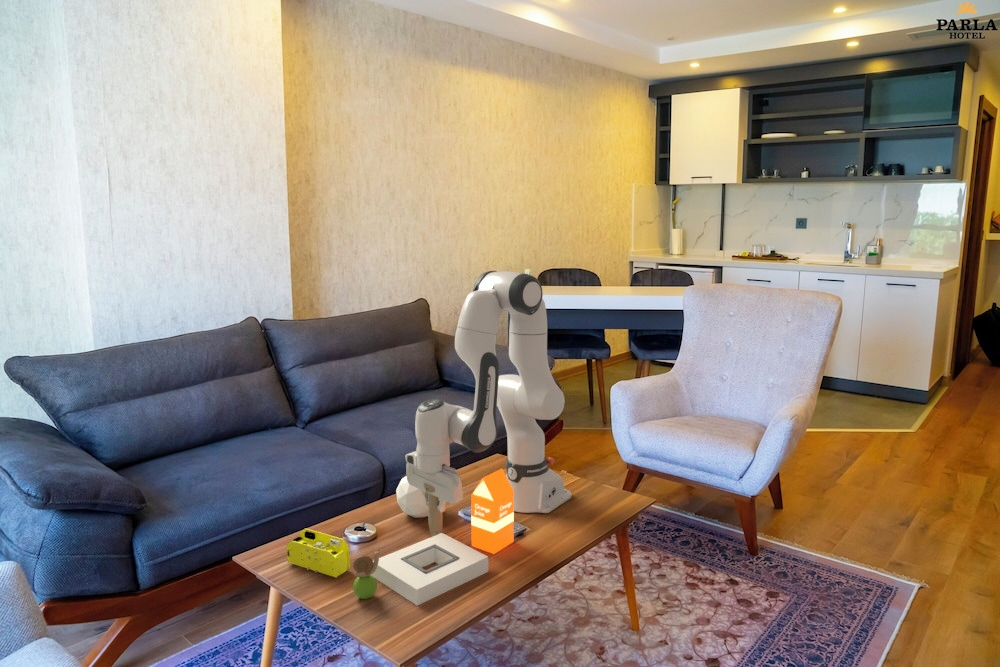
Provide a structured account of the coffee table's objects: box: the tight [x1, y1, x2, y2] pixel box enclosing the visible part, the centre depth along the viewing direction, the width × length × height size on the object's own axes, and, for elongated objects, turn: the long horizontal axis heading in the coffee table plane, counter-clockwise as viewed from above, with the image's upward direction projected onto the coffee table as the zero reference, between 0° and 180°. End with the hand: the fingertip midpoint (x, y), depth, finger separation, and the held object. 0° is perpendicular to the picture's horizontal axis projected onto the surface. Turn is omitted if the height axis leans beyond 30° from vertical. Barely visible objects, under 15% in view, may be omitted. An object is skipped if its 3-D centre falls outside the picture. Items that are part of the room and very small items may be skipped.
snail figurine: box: [352, 546, 381, 600], centre depth 167 cm, size 5×6×12 cm
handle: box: [424, 483, 444, 537], centre depth 197 cm, size 5×6×15 cm
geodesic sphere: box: [395, 475, 428, 519], centre depth 210 cm, size 14×14×14 cm
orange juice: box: [470, 468, 515, 555], centre depth 192 cm, size 8×9×20 cm
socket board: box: [371, 532, 489, 606], centre depth 178 cm, size 22×18×4 cm
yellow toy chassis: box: [286, 528, 351, 578], centre depth 181 cm, size 16×6×8 cm, turn 62°
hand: (435, 508), depth 197 cm, fingers closed on handle, 4 cm apart
